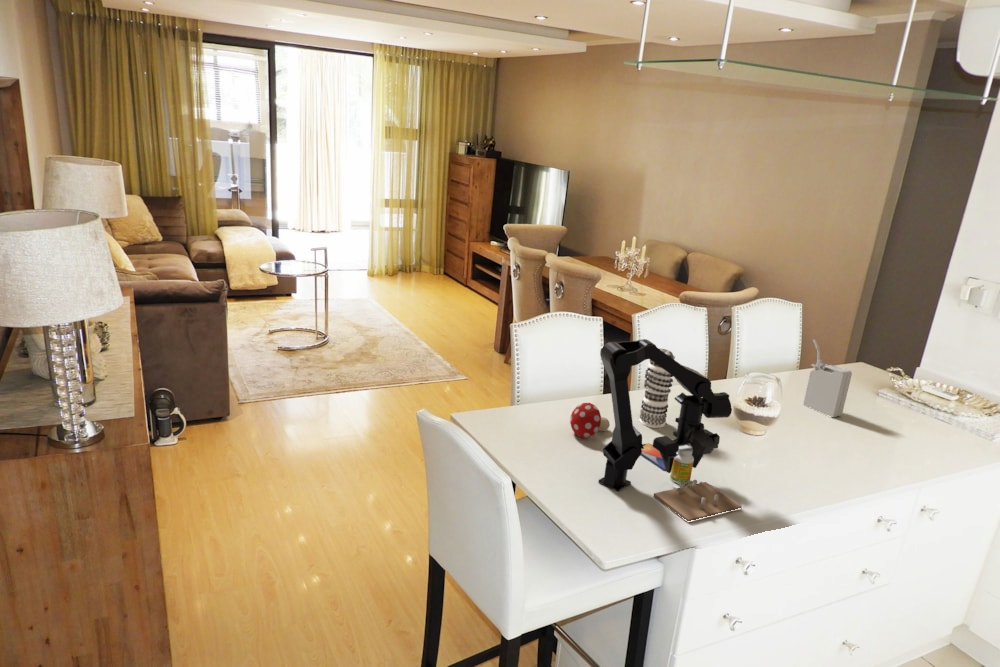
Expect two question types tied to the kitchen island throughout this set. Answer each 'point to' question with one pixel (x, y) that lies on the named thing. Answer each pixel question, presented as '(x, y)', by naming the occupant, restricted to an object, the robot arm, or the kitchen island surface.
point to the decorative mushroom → (587, 420)
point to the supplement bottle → (682, 465)
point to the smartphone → (653, 456)
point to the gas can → (827, 387)
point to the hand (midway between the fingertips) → (681, 469)
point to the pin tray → (696, 501)
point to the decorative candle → (656, 395)
